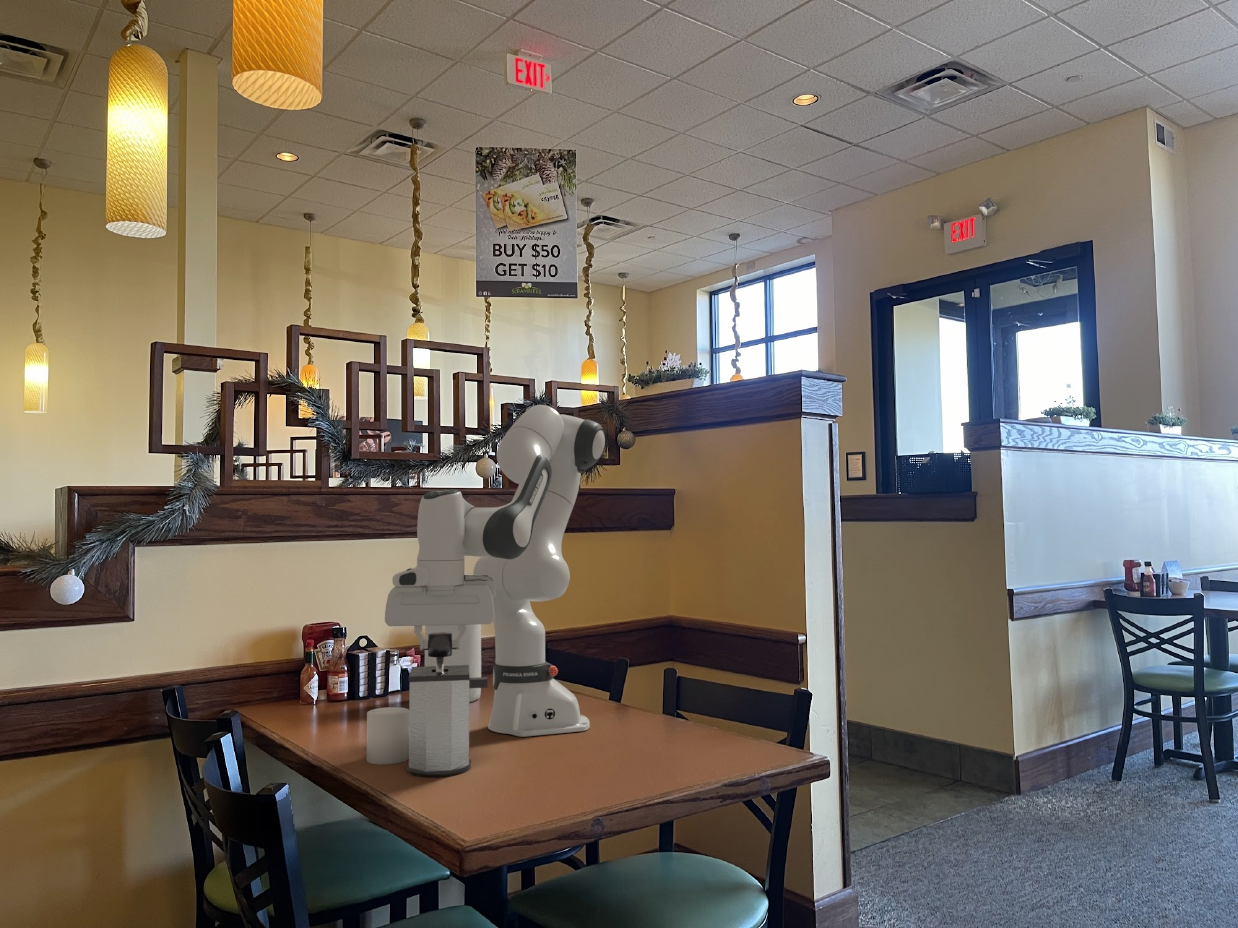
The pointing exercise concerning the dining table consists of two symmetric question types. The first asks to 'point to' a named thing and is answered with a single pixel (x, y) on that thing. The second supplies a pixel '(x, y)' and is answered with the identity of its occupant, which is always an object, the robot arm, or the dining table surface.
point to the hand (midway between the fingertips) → (439, 649)
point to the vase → (461, 651)
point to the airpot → (440, 720)
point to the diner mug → (387, 735)
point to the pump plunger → (440, 648)
